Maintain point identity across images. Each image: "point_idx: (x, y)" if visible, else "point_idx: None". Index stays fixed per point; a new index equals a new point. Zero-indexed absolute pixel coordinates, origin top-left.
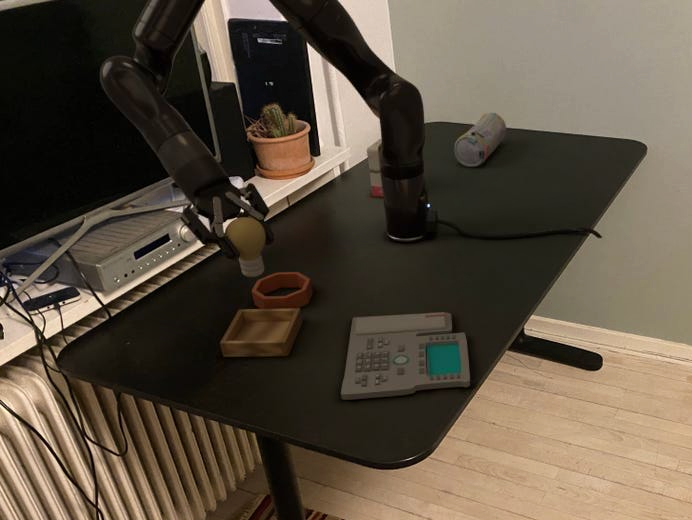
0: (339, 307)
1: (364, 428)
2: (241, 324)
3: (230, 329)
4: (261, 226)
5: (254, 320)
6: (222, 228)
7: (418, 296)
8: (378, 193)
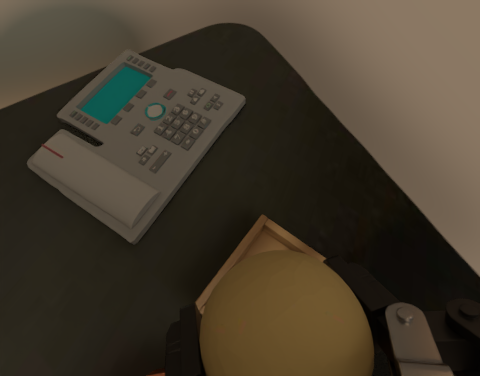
0: (121, 311)
1: (247, 63)
2: None
3: None
4: (213, 297)
5: None
6: (395, 342)
7: (5, 252)
8: None
